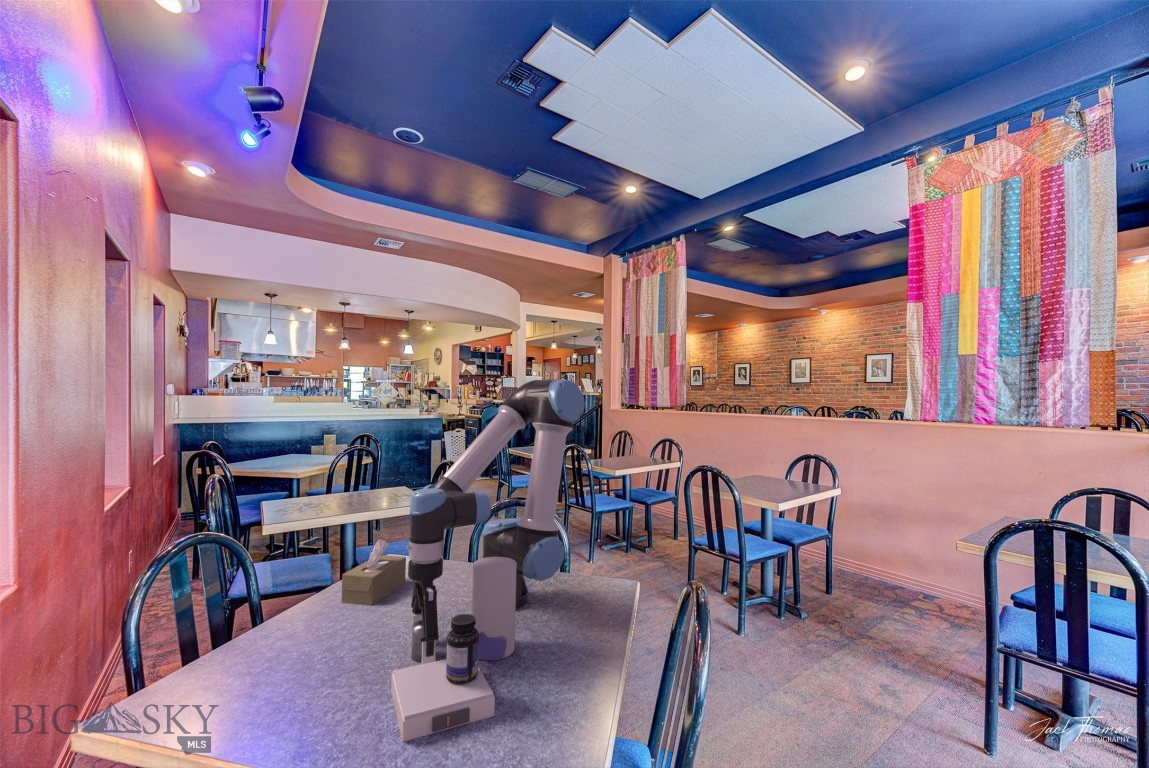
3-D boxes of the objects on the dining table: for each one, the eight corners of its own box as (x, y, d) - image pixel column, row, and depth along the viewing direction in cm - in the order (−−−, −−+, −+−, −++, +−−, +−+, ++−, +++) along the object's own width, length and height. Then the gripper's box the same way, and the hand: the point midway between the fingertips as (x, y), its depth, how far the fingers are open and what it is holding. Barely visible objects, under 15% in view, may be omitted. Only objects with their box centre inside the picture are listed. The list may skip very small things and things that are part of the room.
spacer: (432, 648, 113) (433, 618, 113) (436, 659, 109) (437, 627, 109) (409, 653, 111) (410, 622, 111) (413, 664, 106) (414, 631, 107)
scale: (471, 672, 104) (471, 652, 104) (495, 718, 89) (496, 695, 89) (391, 691, 96) (391, 670, 96) (403, 744, 81) (404, 720, 81)
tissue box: (372, 606, 136) (374, 549, 136) (340, 603, 137) (342, 546, 138) (406, 582, 154) (407, 531, 155) (377, 579, 156) (379, 529, 156)
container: (521, 644, 116) (523, 558, 117) (502, 665, 107) (504, 572, 107) (484, 636, 119) (486, 553, 120) (462, 656, 110) (464, 566, 111)
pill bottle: (467, 664, 99) (468, 609, 100) (484, 676, 95) (485, 619, 95) (439, 675, 95) (441, 618, 95) (456, 689, 90) (458, 629, 91)
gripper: (401, 545, 120) (397, 634, 119) (417, 579, 98) (414, 688, 97) (432, 542, 123) (429, 629, 122) (455, 573, 101) (452, 679, 100)
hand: (422, 655), depth 110 cm, fingers open, 12 cm apart
